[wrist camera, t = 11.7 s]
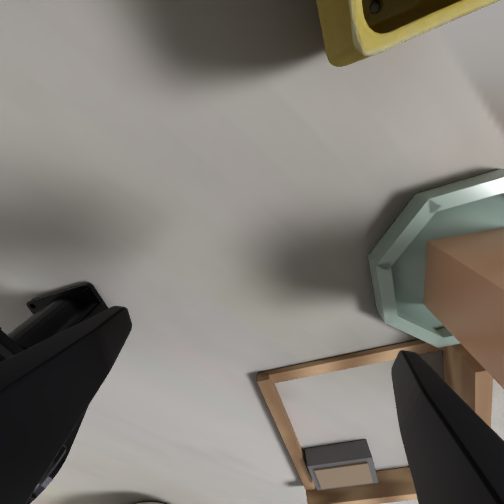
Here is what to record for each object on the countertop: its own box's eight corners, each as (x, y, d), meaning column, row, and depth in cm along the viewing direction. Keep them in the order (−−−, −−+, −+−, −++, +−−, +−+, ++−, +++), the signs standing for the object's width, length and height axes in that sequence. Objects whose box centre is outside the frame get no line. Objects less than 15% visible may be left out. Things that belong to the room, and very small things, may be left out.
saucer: (382, 343, 24) (390, 357, 22) (359, 210, 19) (367, 216, 17) (545, 309, 22) (565, 322, 20) (566, 149, 17) (595, 150, 15)
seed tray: (314, 472, 32) (317, 492, 31) (304, 448, 30) (307, 468, 29) (372, 464, 31) (379, 484, 29) (366, 439, 29) (372, 459, 28)
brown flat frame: (306, 485, 34) (312, 528, 30) (257, 373, 26) (256, 412, 22) (460, 466, 31) (486, 510, 27) (456, 331, 23) (493, 369, 19)
